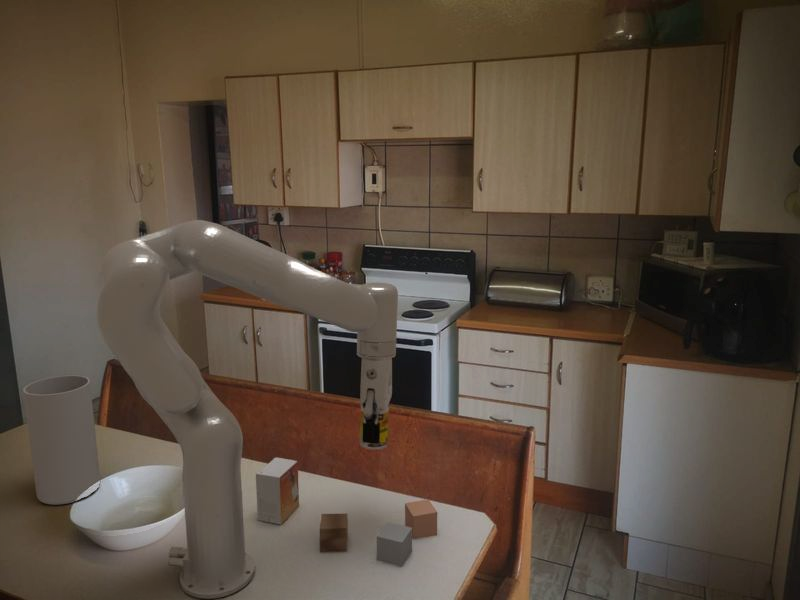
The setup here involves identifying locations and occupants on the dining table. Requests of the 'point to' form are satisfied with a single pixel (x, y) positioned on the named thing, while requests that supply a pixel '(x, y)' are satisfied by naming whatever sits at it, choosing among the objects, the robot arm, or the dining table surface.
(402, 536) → the slate block
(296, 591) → the dining table surface
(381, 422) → the supplement bottle
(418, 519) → the terracotta block
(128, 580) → the dining table surface
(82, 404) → the cylinder vase
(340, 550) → the walnut block
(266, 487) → the small box
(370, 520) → the dining table surface
